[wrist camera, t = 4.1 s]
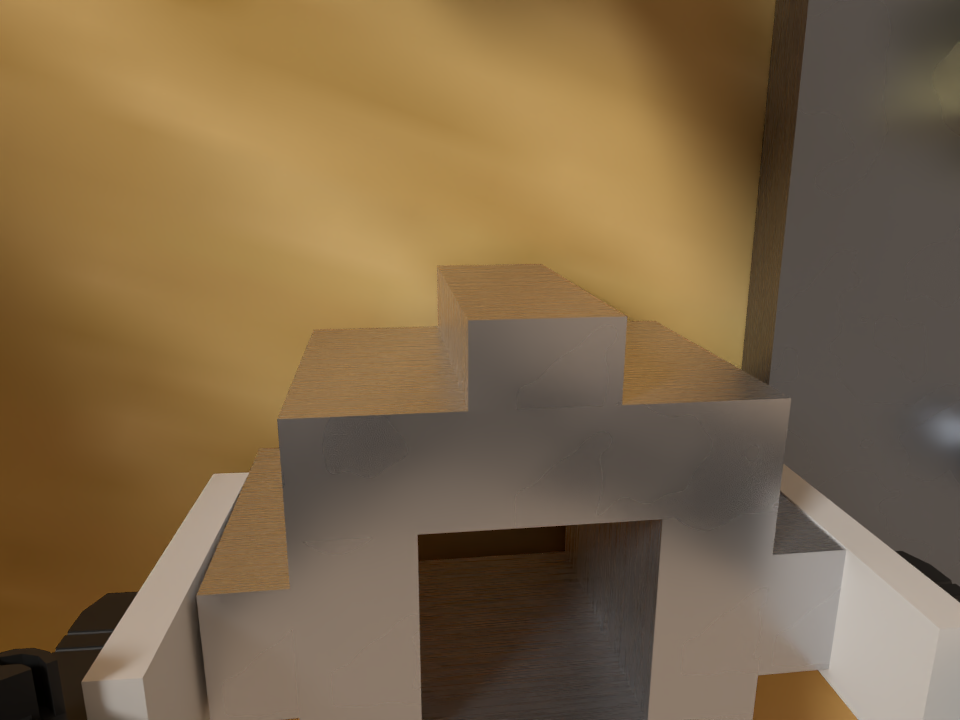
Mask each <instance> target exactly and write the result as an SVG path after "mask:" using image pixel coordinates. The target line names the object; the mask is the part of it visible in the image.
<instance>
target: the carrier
mask: <svg viewBox="0 0 960 720" xmlns="http://www.w3.org/2000/svg"><path fill="white" fill-rule="evenodd" d="M742 371H744V372H746V373H748V374H750V375H751V376H753V377H755V378H757V379H758V380H760V381H762V382H764V383H765V384H767V385H769V386H771V387H772V388H774V389H776V390H778V391H780V392H781V393H783V394H785V395H787V396H788V397H790V398H791V405H790V413H789V421H788V430H787V438H786V446H785V455H784V463H783V464H785V465H786V466H787V467H788V468H790V469H791V470H792V471H794V472H795V473H796V474H797V475H799V476H800V477H801V478H802V479H804V480H805V481H806V482H807V483H809V484H810V485H811V486H813V487H814V488H815V489H816V490H818V491H819V492H820V493H821V494H823V495H824V496H825V497H826V498H828V499H829V500H830V501H832V502H833V503H834V504H835V505H837V506H838V507H839V508H840V509H842V510H843V511H844V512H846V513H847V514H848V515H849V516H851V517H852V518H853V519H854V520H856V521H857V522H858V523H859V524H861V525H862V526H863V527H865V528H866V529H867V530H868V531H870V532H871V533H872V534H873V535H875V536H876V537H877V538H878V539H880V540H881V541H882V542H884V543H885V544H886V545H887V546H889V547H890V548H891V549H892V550H894V551H903V552H906V553H908V554H910V555H912V556H914V557H916V558H918V559H920V560H922V561H925V562H927V563H929V564H931V565H932V566H933V567H935V568H936V569H937V570H939V571H940V572H941V573H943V574H944V575H945V576H946V577H948V578H949V579H950V580H952V584H957V585H958V586H960V0H776V7H775V18H774V28H773V39H772V50H771V61H770V71H769V82H768V93H767V103H766V114H765V125H764V136H763V146H762V157H761V168H760V178H759V189H758V200H757V210H756V221H755V232H754V243H753V253H752V264H751V275H750V285H749V296H748V307H747V317H746V328H745V339H744V350H743V360H742Z"/></svg>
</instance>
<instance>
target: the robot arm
mask: <svg viewBox="0 0 960 720" xmlns="http://www.w3.org/2000/svg"><path fill="white" fill-rule="evenodd" d="M248 475H249V472H248V473H221V474H213V475H212V477H211V478H210V480H209V482H208V483H207V485H206V486H205V488H204V489H203V491H202V493H201V494H200V496H199V497H198V499H197V500H196V502H195V504H194V505H193V507H192V508H191V510H190V511H189V513H188V515H187V516H186V518H185V519H184V521H183V522H182V524H181V526H180V527H179V529H178V530H177V532H176V533H175V535H174V537H173V538H172V540H171V541H170V543H169V545H168V546H167V548H166V549H165V551H164V552H163V554H162V556H161V557H160V559H159V560H158V562H157V563H156V565H155V567H154V568H153V570H152V571H151V573H150V574H149V576H148V578H147V579H146V581H145V582H144V584H143V585H142V587H141V589H140V590H139V592H125V593H108V594H106V595H105V596H103V597H102V598H101V599H99V600H98V601H96V602H95V603H94V604H92V605H91V606H89V607H88V608H87V609H85V610H84V611H83V612H82V613H81V614H80V616H79V617H78V618H77V620H76V621H75V623H74V624H73V625H72V627H71V628H70V629H69V631H68V635H66V636H64V638H63V639H62V640H61V642H60V643H59V644H58V646H57V647H56V651H55V652H53V653H52V654H51V653H50V652H48V651H44V650H40V649H36V648H26V649H13V650H9V651H5V652H1V653H0V720H210V713H209V704H208V695H207V686H206V677H205V668H204V659H203V651H202V642H201V633H200V624H199V615H198V606H197V597H196V595H197V593H198V590H199V588H200V586H201V583H202V581H203V579H204V576H205V574H206V572H207V569H208V567H209V565H210V562H211V560H212V558H213V555H214V553H215V551H216V548H217V546H218V544H219V541H220V539H221V537H222V534H223V532H224V530H225V527H226V525H227V523H228V520H229V518H230V516H231V513H232V511H233V509H234V506H235V504H236V502H237V499H238V497H239V495H240V492H241V490H242V488H243V485H244V483H245V481H246V478H247V477H248ZM780 494H782V495H783V496H784V497H785V498H786V499H788V500H789V501H790V502H791V503H792V504H794V505H795V506H796V507H797V508H799V509H800V510H801V511H802V512H803V513H805V514H806V515H807V516H808V517H810V518H811V519H812V520H813V521H814V522H815V523H816V524H818V525H819V526H820V527H821V528H822V529H823V530H824V531H826V532H827V533H828V534H829V535H830V536H831V537H832V538H834V539H835V540H836V541H837V542H838V543H839V544H840V545H842V546H843V547H844V548H845V549H846V556H845V563H844V570H843V577H842V583H841V590H840V597H839V604H838V610H837V617H836V624H835V631H834V637H833V644H832V651H831V658H830V664H829V669H822V670H818V671H819V672H820V673H821V675H822V676H823V677H824V678H825V679H826V681H827V682H828V683H829V684H830V686H831V687H832V688H833V689H834V690H835V692H836V693H837V694H838V695H839V697H840V698H841V699H842V700H843V702H844V703H845V704H846V705H847V706H848V708H849V709H850V710H851V711H852V713H853V714H854V715H855V716H856V717H857V719H858V720H960V586H958V585H957V584H952V580H950V579H949V578H948V577H946V576H945V575H944V574H943V573H941V572H940V571H939V570H937V569H936V568H935V567H933V566H932V565H931V564H929V563H927V562H925V561H922V560H920V559H918V558H916V557H914V556H912V555H910V554H908V553H906V552H903V551H894V550H892V549H891V548H890V547H889V546H887V545H886V544H885V543H884V542H882V541H881V540H880V539H878V538H877V537H876V536H875V535H873V534H872V533H871V532H870V531H868V530H867V529H866V528H865V527H863V526H862V525H861V524H859V523H858V522H857V521H856V520H854V519H853V518H852V517H851V516H849V515H848V514H847V513H846V512H844V511H843V510H842V509H840V508H839V507H838V506H837V505H835V504H834V503H833V502H832V501H830V500H829V499H828V498H826V497H825V496H824V495H823V494H821V493H820V492H819V491H818V490H816V489H815V488H814V487H813V486H811V485H810V484H809V483H807V482H806V481H805V480H804V479H802V478H801V477H800V476H799V475H797V474H796V473H795V472H794V471H792V470H791V469H790V468H788V467H787V466H786V465H785V464H783V471H782V480H781V488H780Z"/></svg>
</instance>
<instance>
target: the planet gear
mask: <svg viewBox="0 0 960 720" xmlns="http://www.w3.org/2000/svg"><path fill="white" fill-rule="evenodd" d="M437 294H438V326H437V327H398V328H359V329H320V330H313V333H312V335H311V338H310V340H309V342H308V345H307V347H306V350H305V352H304V355H303V357H302V360H301V362H300V365H299V367H298V370H297V372H296V374H295V377H294V379H293V382H292V384H291V387H290V389H289V392H288V394H287V397H286V399H285V402H284V404H283V407H282V409H281V411H280V414H279V416H278V419H277V421H278V435H279V448H264V449H259V450H258V453H257V455H256V457H255V460H254V462H253V464H252V467H251V469H250V471H249V475H248V477H247V478H246V481H245V483H244V485H243V488H242V490H241V492H240V495H239V497H238V499H237V502H236V504H235V506H234V509H233V511H232V513H231V516H230V518H229V520H228V523H227V525H226V527H225V530H224V532H223V534H222V537H221V539H220V541H219V544H218V546H217V548H216V551H215V553H214V555H213V558H212V560H211V562H210V565H209V567H208V569H207V572H206V574H205V576H204V579H203V581H202V583H201V586H200V588H199V590H198V593H197V595H196V597H197V606H198V615H199V624H200V633H201V642H202V651H203V659H204V668H205V677H206V686H207V695H208V704H209V713H210V720H283V719H294V718H300V720H753V712H754V704H755V696H756V688H757V679H758V675H768V674H779V673H790V672H800V671H811V670H822V669H829V664H830V658H831V651H832V644H833V637H834V631H835V624H836V617H837V610H838V604H839V597H840V590H841V583H842V577H843V570H844V563H845V556H846V549H845V548H844V547H843V546H842V545H840V544H839V543H838V542H837V541H836V540H835V539H834V538H832V537H831V536H830V535H829V534H828V533H827V532H826V531H824V530H823V529H822V528H821V527H820V526H819V525H818V524H816V523H815V522H814V521H813V520H812V519H811V518H810V517H808V516H807V515H806V514H805V513H803V512H802V511H801V510H800V509H799V508H797V507H796V506H795V505H794V504H792V503H791V502H790V501H789V500H788V499H786V498H785V497H784V496H783V495H782V494H780V488H781V480H782V471H783V463H784V455H785V446H786V438H787V430H788V421H789V413H790V405H791V398H790V397H788V396H787V395H785V394H783V393H781V392H780V391H778V390H776V389H774V388H772V387H771V386H769V385H767V384H765V383H764V382H762V381H760V380H758V379H757V378H755V377H753V376H751V375H750V374H748V373H746V372H744V371H742V370H741V369H739V368H737V367H735V366H734V365H732V364H730V363H728V362H727V361H725V360H723V359H721V358H720V357H718V356H716V355H714V354H712V353H711V352H709V351H707V350H705V349H704V348H702V347H700V346H698V345H697V344H695V343H693V342H691V341H690V340H688V339H686V338H684V337H682V336H681V335H679V334H677V333H675V332H674V331H672V330H670V329H668V328H667V327H665V326H663V325H661V324H660V323H658V322H656V321H631V322H627V316H626V315H624V314H622V313H621V312H619V311H617V310H616V309H614V308H613V307H611V306H609V305H608V304H606V303H604V302H603V301H601V300H599V299H598V298H596V297H595V296H593V295H591V294H590V293H588V292H586V291H585V290H583V289H582V288H580V287H578V286H577V285H575V284H573V283H572V282H570V281H568V280H567V279H565V278H564V277H562V276H560V275H559V274H557V273H555V272H554V271H552V270H551V269H549V268H547V267H546V266H544V265H542V264H514V265H447V266H437ZM563 525H566V538H565V551H562V552H547V553H532V554H517V555H502V556H487V557H472V558H457V559H442V560H427V561H418V535H419V534H435V533H451V532H467V531H483V530H499V529H515V528H531V527H547V526H563Z"/></svg>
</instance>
